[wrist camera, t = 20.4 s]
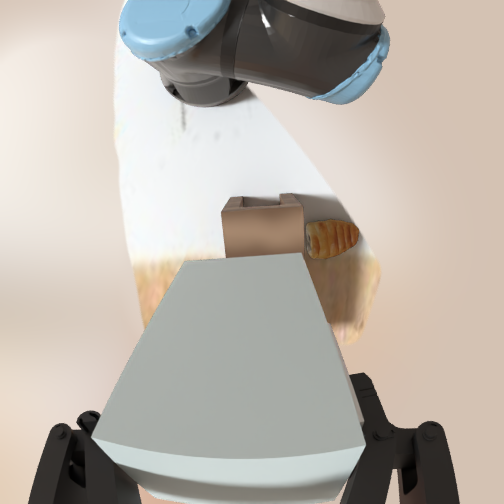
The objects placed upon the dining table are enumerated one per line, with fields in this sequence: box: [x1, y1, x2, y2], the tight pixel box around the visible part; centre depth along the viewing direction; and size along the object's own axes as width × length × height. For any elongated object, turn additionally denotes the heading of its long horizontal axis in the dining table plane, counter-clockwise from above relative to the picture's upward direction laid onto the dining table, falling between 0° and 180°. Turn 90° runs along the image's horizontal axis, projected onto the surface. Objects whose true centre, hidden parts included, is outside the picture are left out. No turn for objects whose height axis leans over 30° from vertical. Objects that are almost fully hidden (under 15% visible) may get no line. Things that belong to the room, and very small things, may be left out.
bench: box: [221, 193, 304, 258], centre depth 43 cm, size 24×10×12 cm, turn 4°
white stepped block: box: [91, 253, 366, 504], centre depth 16 cm, size 23×8×14 cm, turn 5°
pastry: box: [306, 219, 359, 259], centre depth 45 cm, size 9×7×4 cm
